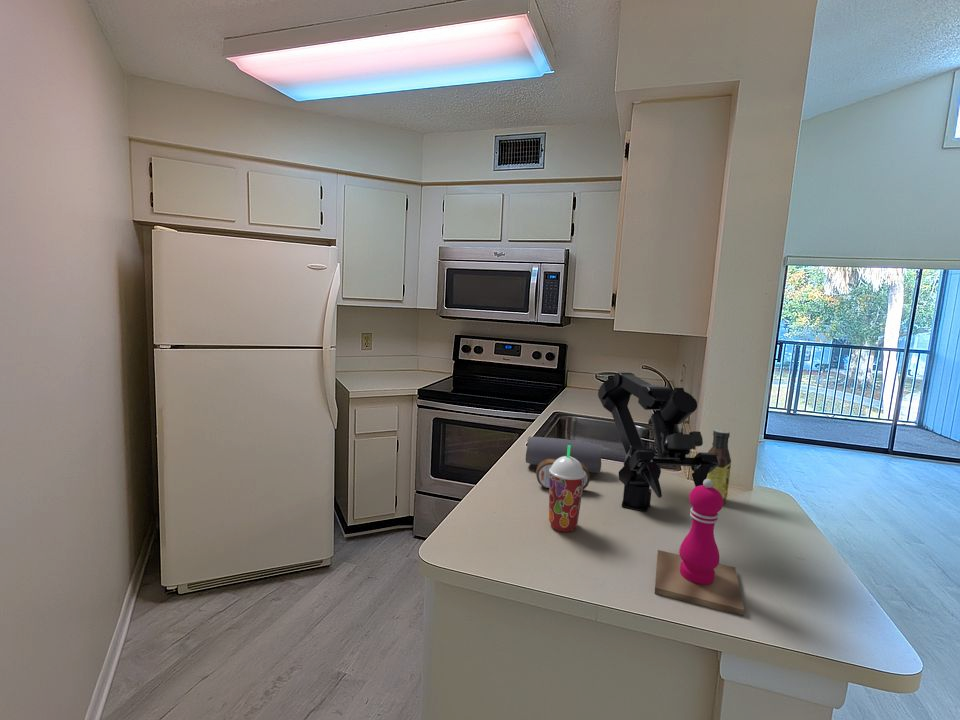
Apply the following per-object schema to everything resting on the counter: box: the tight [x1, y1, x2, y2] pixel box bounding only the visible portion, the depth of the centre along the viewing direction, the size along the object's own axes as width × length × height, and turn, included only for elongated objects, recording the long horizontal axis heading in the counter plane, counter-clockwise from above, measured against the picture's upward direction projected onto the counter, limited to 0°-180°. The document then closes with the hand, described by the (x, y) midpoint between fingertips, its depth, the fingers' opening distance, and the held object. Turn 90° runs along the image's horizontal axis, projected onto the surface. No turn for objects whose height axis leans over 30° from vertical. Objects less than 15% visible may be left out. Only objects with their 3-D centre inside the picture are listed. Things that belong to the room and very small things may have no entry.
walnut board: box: [654, 549, 745, 617], centre depth 98 cm, size 15×15×1 cm
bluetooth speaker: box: [525, 436, 603, 473], centre depth 154 cm, size 23×9×10 cm, turn 77°
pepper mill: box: [678, 479, 724, 585], centre depth 96 cm, size 7×7×20 cm
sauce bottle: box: [706, 428, 732, 505], centre depth 137 cm, size 6×6×20 cm
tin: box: [535, 459, 591, 490], centre depth 140 cm, size 15×3×8 cm, turn 84°
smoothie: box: [548, 445, 585, 533], centre depth 117 cm, size 8×8×20 cm
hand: (681, 498), depth 108 cm, fingers open, 9 cm apart
